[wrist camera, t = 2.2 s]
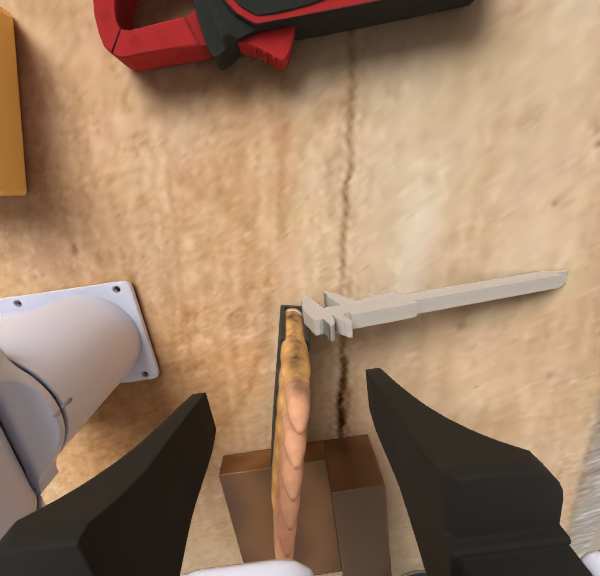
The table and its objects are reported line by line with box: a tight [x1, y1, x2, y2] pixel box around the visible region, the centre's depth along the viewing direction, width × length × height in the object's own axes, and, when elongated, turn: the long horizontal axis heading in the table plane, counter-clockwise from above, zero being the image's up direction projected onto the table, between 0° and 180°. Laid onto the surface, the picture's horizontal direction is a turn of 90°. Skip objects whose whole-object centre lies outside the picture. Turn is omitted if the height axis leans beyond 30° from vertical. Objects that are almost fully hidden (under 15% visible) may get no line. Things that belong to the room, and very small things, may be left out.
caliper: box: [301, 270, 568, 342], centre depth 21 cm, size 20×1×6 cm, turn 95°
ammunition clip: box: [270, 305, 311, 560], centre depth 19 cm, size 11×2×12 cm, turn 175°
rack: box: [219, 435, 391, 576], centre depth 27 cm, size 13×14×5 cm
